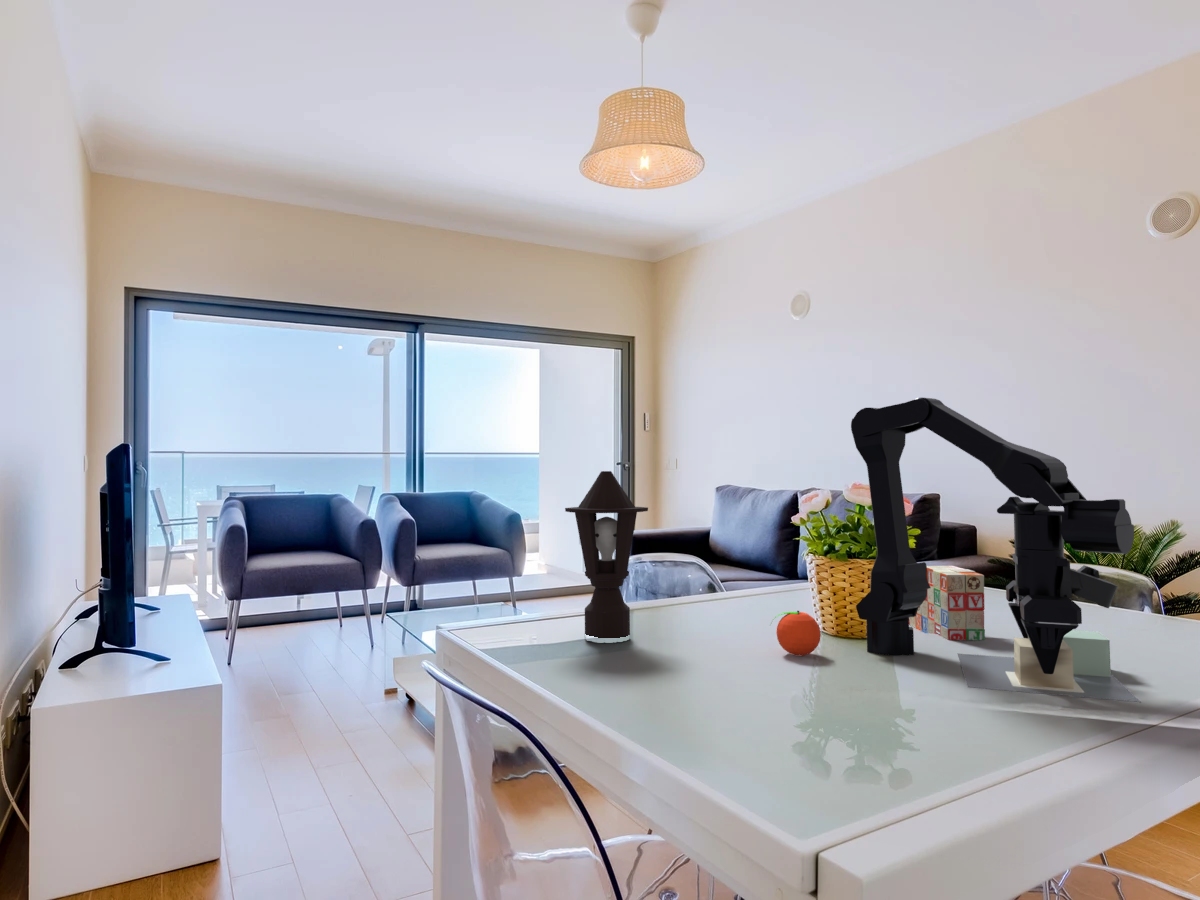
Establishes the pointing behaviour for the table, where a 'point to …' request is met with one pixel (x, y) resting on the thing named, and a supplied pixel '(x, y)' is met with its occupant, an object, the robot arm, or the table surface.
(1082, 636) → the sage block
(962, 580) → the stack of blocks
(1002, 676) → the plate
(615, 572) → the lantern
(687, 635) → the table surface
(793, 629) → the clementine
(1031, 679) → the maple block
